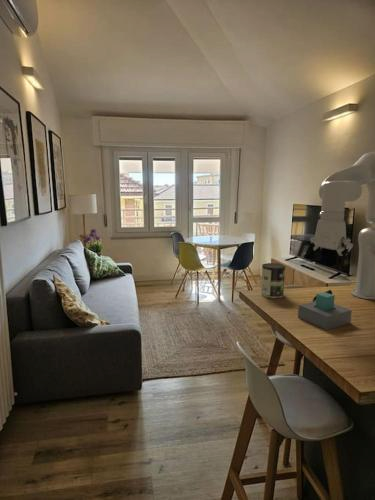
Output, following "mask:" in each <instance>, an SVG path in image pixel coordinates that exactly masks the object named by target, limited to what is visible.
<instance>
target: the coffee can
mask: <svg viewBox="0 0 375 500" xmlns="http://www.w3.org/2000/svg"><path fill="white" fill-rule="evenodd" d="M261 267H262V269H261V290H260V291H261V293H260V294H261V296H263V297H264V298H265V297H266V298H270V299H279V298H282V297H284V294H285V293H284V292H285V290H284V289H285V288H284V287H285V273H286V266H285V264H282V263H275V262H274V263H273V262H270V263H268V262H266V263H263V264H262V265H261Z"/></svg>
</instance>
